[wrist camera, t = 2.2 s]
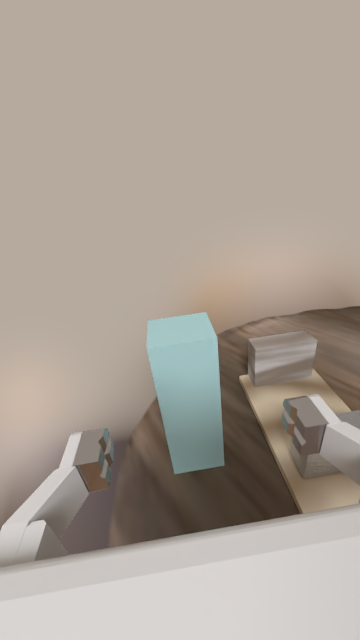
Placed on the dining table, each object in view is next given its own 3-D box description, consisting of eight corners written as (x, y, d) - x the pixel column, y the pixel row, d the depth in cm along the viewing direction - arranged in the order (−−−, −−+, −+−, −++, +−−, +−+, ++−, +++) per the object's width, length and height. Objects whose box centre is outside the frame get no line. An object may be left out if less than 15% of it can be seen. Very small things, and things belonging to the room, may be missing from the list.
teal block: (224, 465, 29) (217, 337, 21) (174, 474, 29) (146, 348, 21) (215, 429, 34) (205, 311, 25) (171, 437, 34) (147, 320, 25)
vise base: (444, 523, 22) (484, 471, 19) (315, 547, 22) (330, 499, 18) (308, 369, 42) (315, 328, 38) (239, 380, 41) (238, 340, 38)
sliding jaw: (386, 464, 26) (400, 431, 24) (303, 478, 26) (309, 447, 23) (364, 439, 29) (376, 407, 26) (289, 452, 29) (293, 421, 26)
